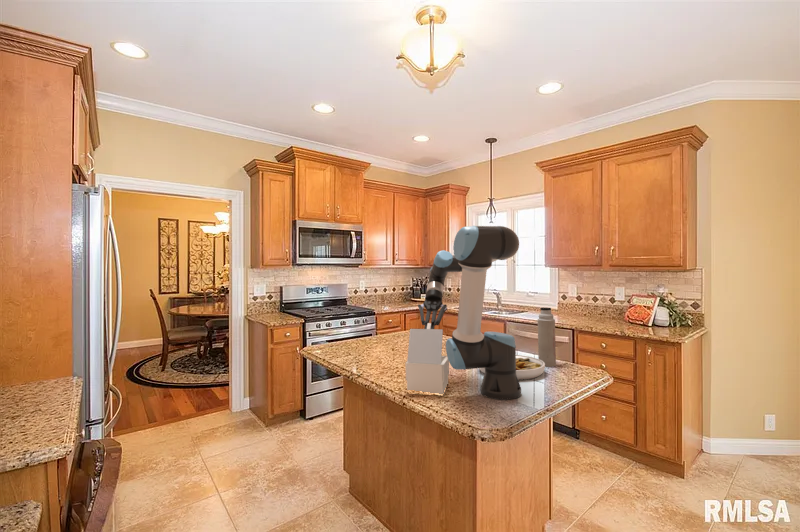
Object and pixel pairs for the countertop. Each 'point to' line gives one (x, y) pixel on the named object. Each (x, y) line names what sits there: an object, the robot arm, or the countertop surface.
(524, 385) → the countertop surface
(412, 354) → the carton flap
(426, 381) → the white carton
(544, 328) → the thermos bottle
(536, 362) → the bowl
